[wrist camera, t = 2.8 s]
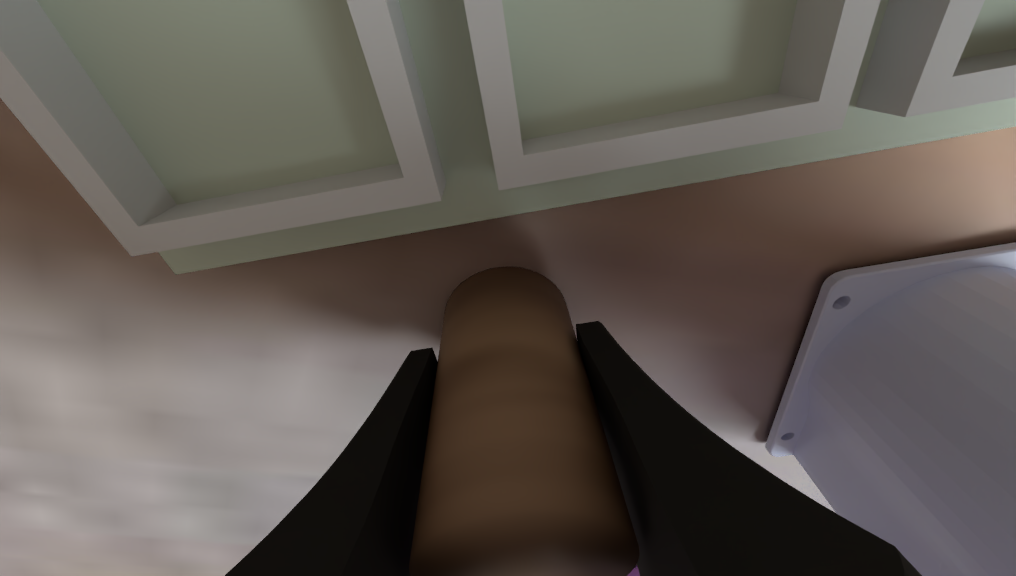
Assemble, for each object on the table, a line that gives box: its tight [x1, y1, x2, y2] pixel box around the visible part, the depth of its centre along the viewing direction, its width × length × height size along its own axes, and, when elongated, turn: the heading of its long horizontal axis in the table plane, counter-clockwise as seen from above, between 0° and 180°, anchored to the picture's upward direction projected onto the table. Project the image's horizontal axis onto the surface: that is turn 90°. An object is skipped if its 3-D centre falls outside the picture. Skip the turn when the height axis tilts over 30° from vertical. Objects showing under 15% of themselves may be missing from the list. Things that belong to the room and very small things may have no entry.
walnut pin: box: [409, 267, 640, 576], centre depth 10 cm, size 4×4×7 cm
